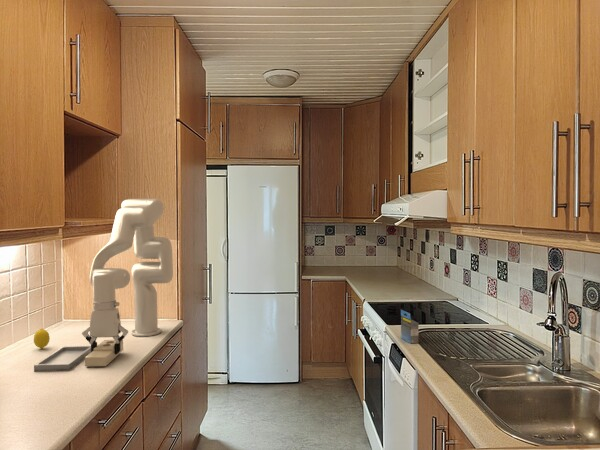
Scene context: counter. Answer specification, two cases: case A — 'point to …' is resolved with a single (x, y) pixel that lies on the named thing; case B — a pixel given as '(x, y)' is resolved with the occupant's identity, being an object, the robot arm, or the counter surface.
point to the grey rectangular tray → (63, 358)
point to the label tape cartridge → (409, 328)
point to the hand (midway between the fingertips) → (105, 353)
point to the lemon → (41, 338)
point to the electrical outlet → (102, 353)
